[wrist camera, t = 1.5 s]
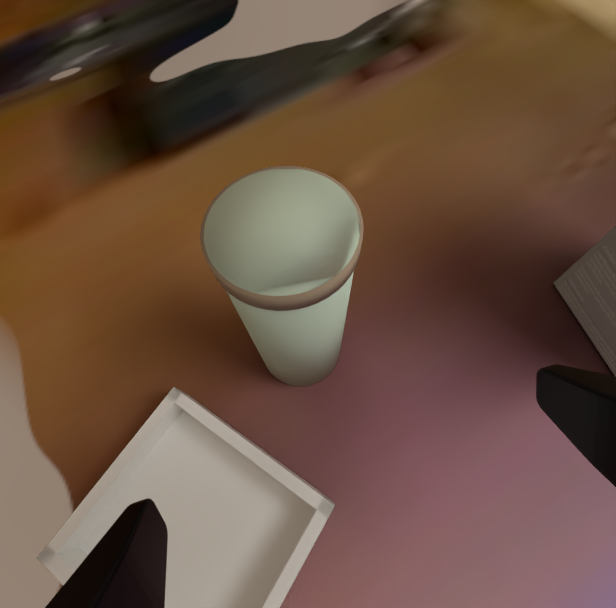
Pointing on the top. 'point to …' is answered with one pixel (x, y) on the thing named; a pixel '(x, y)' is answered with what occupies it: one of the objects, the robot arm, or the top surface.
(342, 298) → the peg
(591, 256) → the skincare box
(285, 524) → the tray
